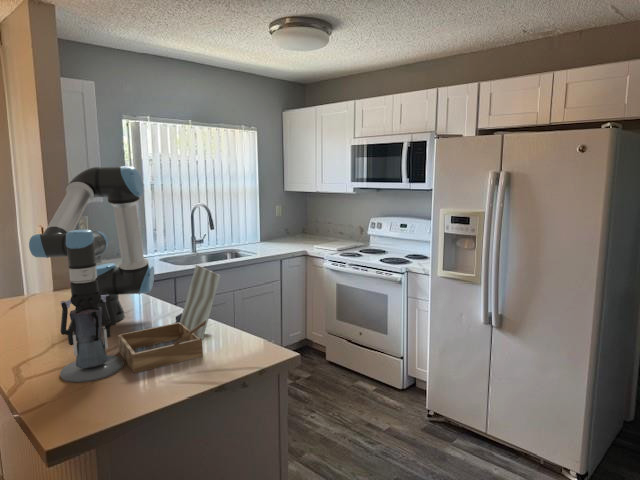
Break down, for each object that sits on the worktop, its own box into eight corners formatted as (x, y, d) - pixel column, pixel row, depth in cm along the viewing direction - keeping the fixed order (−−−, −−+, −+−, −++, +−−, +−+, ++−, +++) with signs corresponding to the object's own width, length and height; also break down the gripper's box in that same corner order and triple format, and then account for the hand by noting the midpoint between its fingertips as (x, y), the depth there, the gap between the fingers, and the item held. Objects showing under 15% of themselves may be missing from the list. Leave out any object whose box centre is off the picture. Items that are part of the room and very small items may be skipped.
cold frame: (119, 351, 161) (112, 276, 157) (201, 332, 178) (197, 264, 174) (134, 373, 143) (127, 289, 139) (224, 350, 160) (220, 274, 156)
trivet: (57, 367, 149) (57, 364, 149) (117, 353, 159) (117, 351, 159) (64, 388, 134) (63, 384, 134) (129, 371, 144) (129, 368, 144)
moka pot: (96, 353, 155) (90, 295, 152) (120, 364, 145) (114, 302, 142) (66, 362, 148) (60, 302, 144) (89, 375, 138) (82, 310, 135)
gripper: (46, 288, 133) (54, 363, 137) (122, 277, 145) (128, 346, 148) (43, 283, 139) (52, 355, 143) (117, 273, 151) (123, 339, 154)
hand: (91, 350), depth 146 cm, fingers closed on moka pot, 8 cm apart
